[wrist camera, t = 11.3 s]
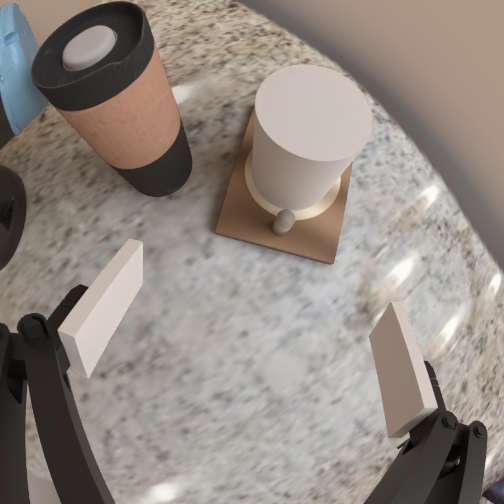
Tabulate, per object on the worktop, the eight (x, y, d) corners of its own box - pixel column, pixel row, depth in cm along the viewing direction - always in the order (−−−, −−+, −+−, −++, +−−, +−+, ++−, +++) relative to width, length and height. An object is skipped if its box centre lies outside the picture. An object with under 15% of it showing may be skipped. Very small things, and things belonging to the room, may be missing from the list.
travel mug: (123, 151, 31) (35, 35, 12) (185, 127, 32) (140, -14, 12) (136, 210, 31) (23, 114, 11) (203, 185, 31) (156, 50, 11)
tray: (330, 264, 30) (347, 259, 25) (216, 234, 31) (210, 222, 25) (353, 133, 33) (369, 110, 27) (255, 105, 33) (257, 78, 27)
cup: (305, 127, 31) (331, 55, 19) (344, 190, 30) (394, 138, 18) (238, 155, 30) (234, 84, 18) (275, 224, 29) (294, 181, 17)
